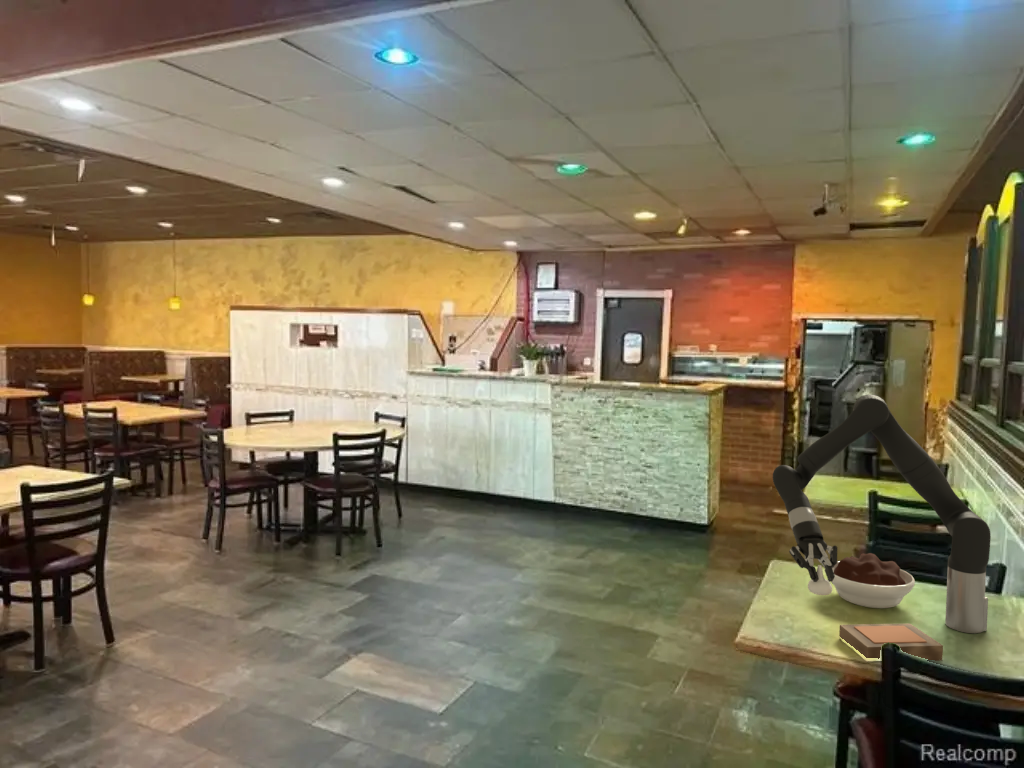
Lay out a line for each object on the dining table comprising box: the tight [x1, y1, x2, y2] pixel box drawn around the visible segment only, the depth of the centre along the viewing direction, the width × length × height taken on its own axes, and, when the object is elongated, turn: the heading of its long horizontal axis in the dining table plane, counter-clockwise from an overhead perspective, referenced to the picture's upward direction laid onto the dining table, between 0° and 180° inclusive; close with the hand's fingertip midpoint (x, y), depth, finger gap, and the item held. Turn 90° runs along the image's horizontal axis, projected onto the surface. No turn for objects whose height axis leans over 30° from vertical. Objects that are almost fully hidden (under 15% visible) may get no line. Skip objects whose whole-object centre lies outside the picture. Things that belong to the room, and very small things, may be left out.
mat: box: [854, 626, 927, 643], centre depth 186 cm, size 14×10×1 cm
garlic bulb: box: [807, 564, 833, 596], centre depth 197 cm, size 6×6×8 cm
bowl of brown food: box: [831, 552, 916, 609], centre depth 220 cm, size 25×25×15 cm
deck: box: [838, 623, 944, 662], centre depth 186 cm, size 20×14×4 cm
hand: (823, 580), depth 195 cm, fingers closed on garlic bulb, 3 cm apart
